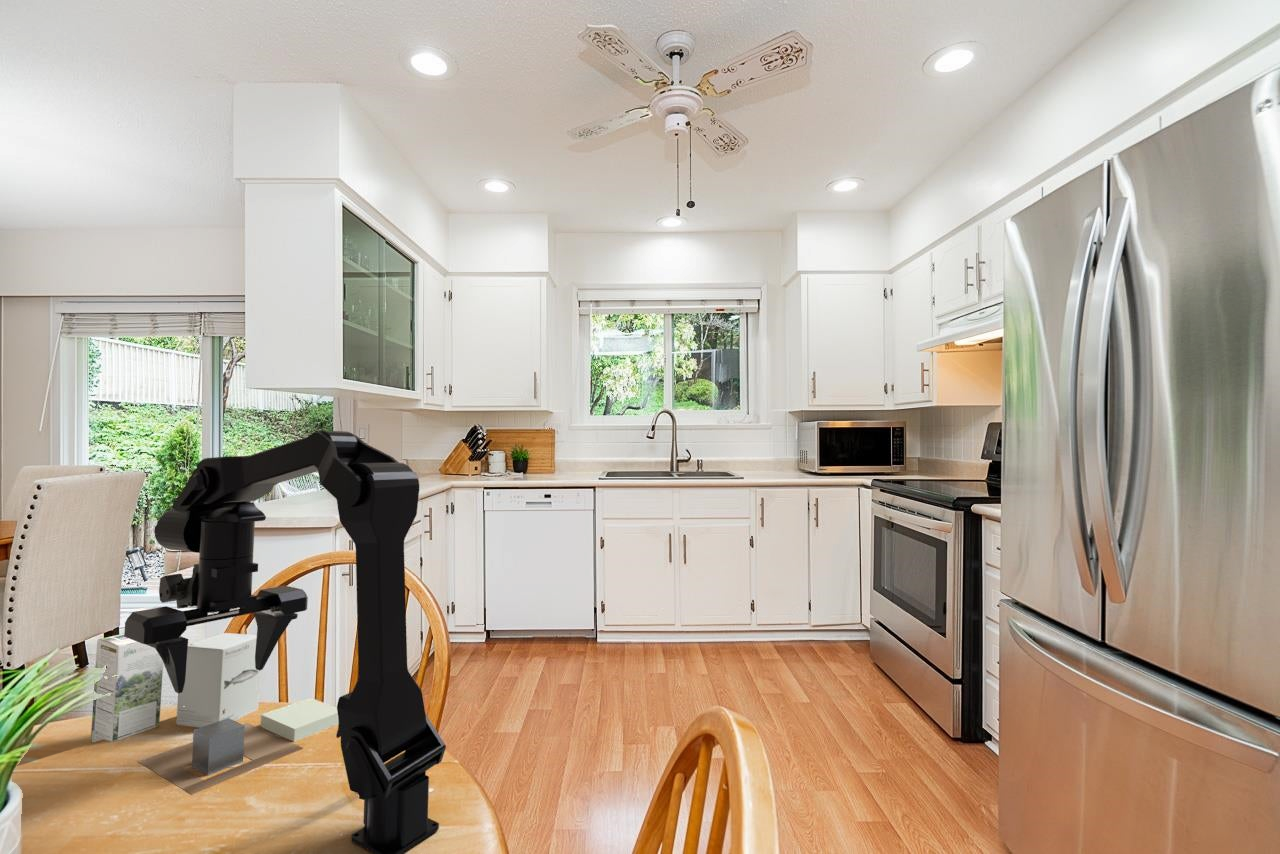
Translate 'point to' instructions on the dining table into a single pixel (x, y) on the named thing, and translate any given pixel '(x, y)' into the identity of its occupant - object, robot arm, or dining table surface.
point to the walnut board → (256, 748)
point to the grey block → (218, 746)
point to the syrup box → (126, 689)
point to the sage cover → (300, 719)
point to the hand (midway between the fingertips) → (220, 680)
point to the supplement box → (219, 680)
